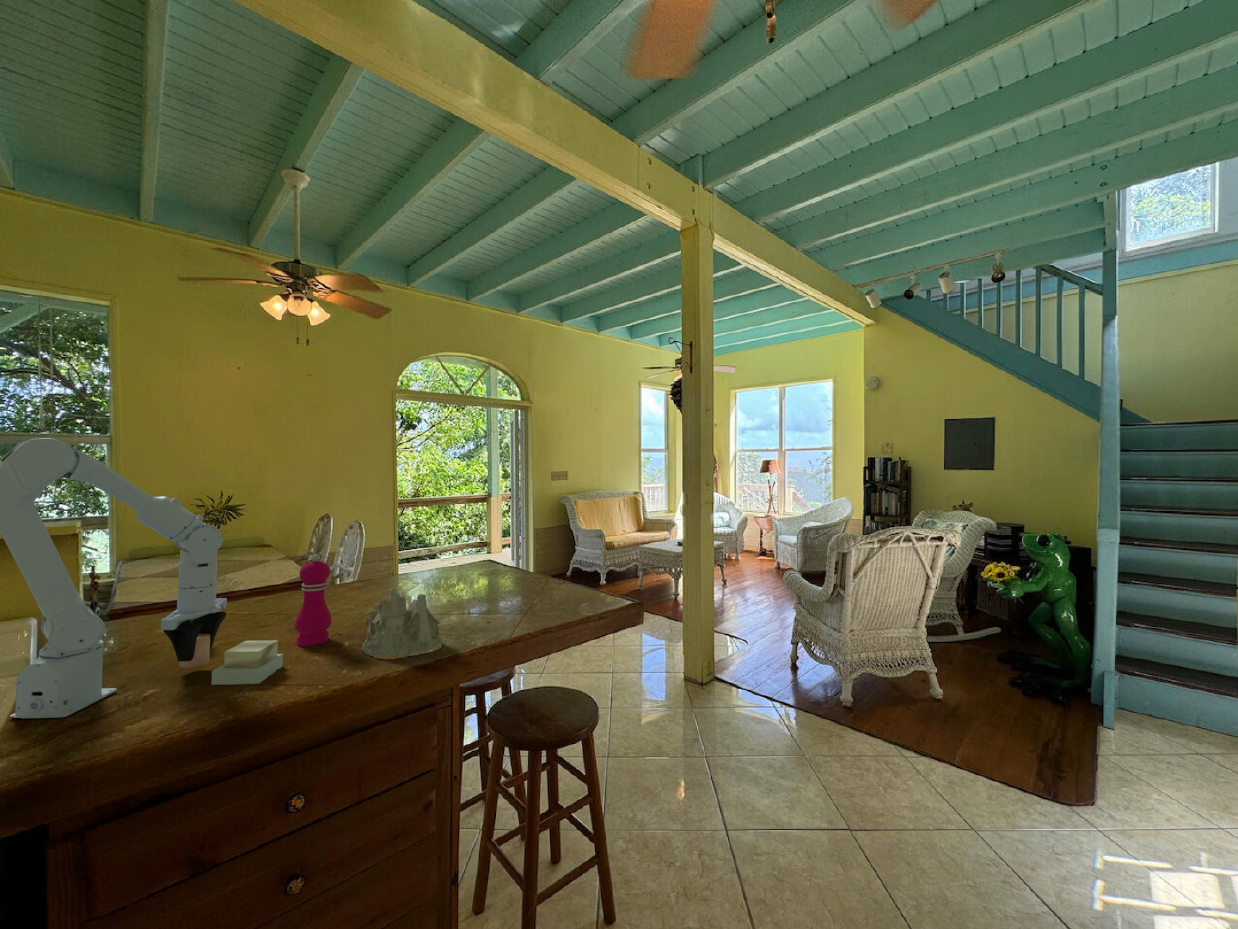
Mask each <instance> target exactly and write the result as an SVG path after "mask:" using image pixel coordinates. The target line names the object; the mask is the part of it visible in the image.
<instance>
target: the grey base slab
mask: <svg viewBox="0 0 1238 929" xmlns="http://www.w3.org/2000/svg"><path fill="white" fill-rule="evenodd" d="M283 656H284V654H283V653H277V656H276V657H274V658H273V659H271V660H270V661H268V662H266V663H265V664H263V665H262V666H260V667H258V668H224V663H223V664H222V665H220V666H218V667H216V668H214V669H213V670H211V685H212V686H213V685H214V686H215V685H224V686H225V685H259V684H261V683H262V682H264V681H265V680H266V679H268V678H269V677H270V676H271V675H273V674H274V673H276V672H277V671H278V670H280V669H281V668H283V659H284V658H283ZM277 669H278V670H277ZM276 670H277V671H276ZM268 676H269V677H268Z"/></svg>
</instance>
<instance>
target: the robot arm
mask: <svg viewBox="0 0 1238 929" xmlns="http://www.w3.org/2000/svg"><path fill="white" fill-rule="evenodd" d="M60 478H63V479H67V480H71V481H77V482H85V483H89V484H90V485H92V486H94V487H96V488H98V489H99V490H100V491H103V492H104V493H106V494H108V495H110V496H112V497H113V498H115V499H117V500H118V501H120V502H122V504H124V505H127V506H129V507H130V508H131V509H133V510H135V512H136V521H137V522H138V523H139V524H142V525H144V526H145V527H147V528H149V529H150V530H152V531H154V532H155V533H156V534H158V535H160V536H162V537H164V538H165V539H166V540H168V541H170V542H174V543H175V545H176V547H178V548H179V549H180V550H179V553H180V554H179V563H178V578H177V579H178V580H177V600H176V610H174V611H172V612H171V613H170V614H169V615H168V616H166V617H164V618H161V620H160V622H161V623H160V630H161V631H162V632H163V633H164V634H165V635H166V636H167V637H168V639H169V640H170V643H171V644H172V647H173V650H174V652H175V655H176V656H175V657H176V659H177V661H178V662H180V661H191V660H192V659H193V656H194V652H195V644H196V640H197V637H198V634H210V651H211V650H212V647H213V645H214V642H215V638H216V636H217V632H218V630H219V628H220V627H221V624H222V623H223V621H224V620H225V618H226V617H227V612H226V611H222V610H223V609H226V608H227V606H228V605H227V604H228V598H226V597H225V598H222V597H219V598H217V583H218V582H217V580H218V579H217V577H218V550H219V549H220V548H221V547H222V545H223V543H224V537H222V534H221V531H220V530H219V528H217V527H216V526H214V525H211V524H208V523H207V522H204V521H203V520H204V519H205V517H204V516H202V515H200V514H197V515H195V513H192V512H191V511H190V510H188V509H186V508H185V507H183V506H182V505H181V504H182V500H179V499H178V498H175V497H173V498H169V497H168V496H166V495H163V496H162V495H161V496H151V495H150V494H149V493H147V492H146V491H144V490H143V489H141V488H140V487H138V486H137V484H136V485H135V484H134V483H133V482H131V481H129V480H128V479H127V478H125V477H124V476H122V475H121V474H119V473H118V472H116V471H115V470H114V469H112V468H111V467H109V465H107V464H105V463H103V462H102V461H100V460H99V459H96V458H95V457H93V456H91V455H89V454H86V453H84V452H83V451H81V450H78V449H73V448H72V447H71V445H70V444H69V445H68V444H67V443H65V442H64V441H61V440H59V439H56V438H46V437H42V438H32V439H31V438H30V439H27V440H23V441H22V442H19V443H17V444H16V445H14V446H13V448H11V449H10V450H9V451H8V452H7V453H5V454H4V455H3V456H2V457H1V458H0V534H1V537H2V538H3V540H4V542H5V544H6V546H7V548H8V550H9V551H10V553H11V556H12V557H13V559H14V561H15V563H16V565H17V567H18V569H19V570H20V572H21V576H23V578H24V580H25V582H26V584H27V586H28V588H29V590H30V592H31V594H32V596H33V598H34V599H35V602H36V604H37V606H38V608H39V610H40V612H41V615H42V621H41V625H40V629H41V633H42V634H43V636H44V637H45V638H46V639H47V642H46V643H45V644H44V646H42V648H41V649H39V651H38V653H39V655H38V657H37V658H36V660H35V661H33V662H31V663H30V664H29V665H27V666H25V667H23V669H21V671H20V672H19V674H18V675H17V677H16V683H15V684H16V685H15V686H16V688H15V689H16V690H15V711H14V713H12V714H10V715H9V716H10V717H14V718H21V719H47V718H48V719H50V718H51V719H53V718H65V717H68V716H70V715H72V714H74V713H77V712H78V711H80V710H82V709H84V708H86V707H89V706H90V705H91V704H94V703H96V702H98V701H100V700H102V699H104V698H105V697H108V696H110V695H112V694H114V693H116V692H117V690H118V689H117V688H116V687H112V688H111V687H110V688H109V687H108V688H105V687H104V688H103V666H104V664H103V661H104V660H103V658H104V640H103V639H102V638H103V636H104V635H105V632H106V625H105V622H104V620H103V619H102V618H100V617H99V616H97V615H96V614H95V612H94V610H93V609H92V608H90V607H89V606H87V605H86V603H85V602H84V600H83V598H82V596H81V595H80V593H79V591H78V589H77V587H76V586H75V584H74V581H73V580H72V577H71V575H70V573H69V572H68V570H67V567H66V564H64V561H63V559H62V558H61V556H60V553H59V551H58V549H57V547H56V545H55V544H54V542H53V539H52V537H51V535H50V533H49V531H48V529H47V526H46V525H45V523H44V521H43V519H42V517H41V515H40V513H39V511H38V508H37V506H36V505H35V501H36V499H37V498H38V497H39V496H40V495H41V494H42V493H43V492H44V491H45V489H47V487H48V485H50V484H51V483H53V482H54V481H56V480H58V479H60ZM191 621H192V623H191Z"/></svg>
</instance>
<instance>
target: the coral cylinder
mask: <svg viewBox="0 0 1238 929" xmlns="http://www.w3.org/2000/svg"><path fill="white" fill-rule="evenodd" d="M210 653H211V650H210V634H198V637H197V640H196V644H195V652H194V656H193V659H192V660H191V661H179V665H178V666H179V667H180V668H182V669H188V668H189V669H190V668H197V667H201V666H204V665H206V664H208V663H209V662H210Z"/></svg>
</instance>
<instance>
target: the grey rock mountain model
mask: <svg viewBox="0 0 1238 929" xmlns="http://www.w3.org/2000/svg"><path fill="white" fill-rule="evenodd" d="M410 603H411V604H409V606H408V608H407V601H406V596H405V595H402V596H400V593H399V591H396V588H395V587H390V588H389V592H388V597H387V598H385V599H384V598H382V599H381V600H380V602H378V603H377V602H376V603H375V605H374V609H369V610H368V613H367V617H366V621H365V626H366V627H367V629H366V630H367V631H366V632H367V634H366V636H367V638H366V640H364V641H363V643H362V647H361V651H362V650H363V651H364V652H367V653H369V654H370V655H372V656H401V655H406V654H409V653H412V652H417V651H422V650H430V649H432V648H434V647H436V646H437V645H438V644H440V643H442V644H443V642H442V637H441V636H440V635H439V634H440V627H439V626H438V625H439V624H440V623H441V622H440V621H439V620H438V619H437V618H436V617H435V615H433V614H432V613H431V612H430V610H429V608H428V605H427V598H426V594H425V593H419V594H417V598H416V599H415V598H414V599H413V600H412V602H410Z"/></svg>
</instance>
